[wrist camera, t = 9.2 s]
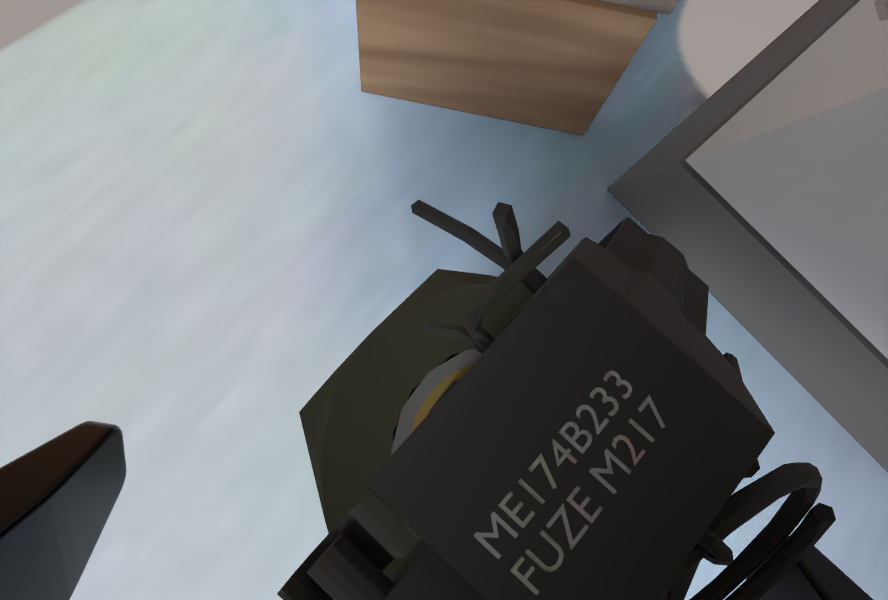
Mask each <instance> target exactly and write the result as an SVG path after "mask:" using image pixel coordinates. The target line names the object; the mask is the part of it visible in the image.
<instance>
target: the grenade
mask: <svg viewBox="0 0 888 600" xmlns="http://www.w3.org/2000/svg"><path fill="white" fill-rule="evenodd" d="M411 207H412V213H414V214H416V215H418V216H419V217H421V218H423V219H425V220H427V221H428V222H430V223H432V224H434V225H436V226H437V227H439V228H441V229H443V230H444V231H446V232H448V233H450V234H452V235H453V236H455V237H457V238H459V239H461V240H462V241H464V242H466V243H467V244H468V245H470V246H471V247H473V248H474V249H476V250H477V251H479V252H480V253H481V254H483V255H484V256H486V257H487V258H489V259H490V260H491V261H493V262H494V263H496V264H497V265H499V266H500V267H502V268H503V269H504V270H505V271H504V272H503V273H502V274H501V275H500V276H499V277H495V276H490V275H483V274H475V273H466V272H458V271H450V270H441V269H437V270H436V271H435V272H434V273H433V274H432V275H431V276H430V277H429V278H428V279H427V280H426V281H425V282H423V283H422V284H421V285H420V286H419V287H418V288H417V289H416V290H415V291H414V292H413V293H412V294H411V295H410V296H409V297H408V298H407V299H406V300H405V301H404V302H403V303H402V304H400V305H399V306H398V307H397V308H396V309H395V310H394V311H393V312H392V313H391V314H390V315H389V316H388V317H387V318H386V319H385V320H384V321H383V322H382V323H381V324H380V325H379V326H378V327H376V328H375V329H374V330H373V331H372V332H371V333H370V334H369V335H368V336H367V338H366V339H365V340H364V341H363V342H362V343H361V344H360V345H359V346H358V347H357V348H356V349H355V350H354V351H353V352H352V354H351V355H350V356H349V357H348V358H347V359H346V360H345V361H344V362H343V363H342V364H341V365H340V366H339V367H338V369H337V370H336V371H335V372H334V373H333V374H332V375H331V376H330V377H329V379H328V380H327V381H326V382H325V383H324V384H323V385H322V387H321V388H320V389H319V390H318V391H317V392H316V393H315V395H314V396H313V397H312V398H311V399H310V400H309V401H308V403H307V404H306V405H305V406H304V407H303V408H302V410H301V411H300V412H299V413H300V417H301V422H302V426H303V430H304V434H305V438H306V443H307V447H308V451H309V455H310V459H311V464H312V468H313V472H314V476H315V480H316V485H317V489H318V493H319V497H320V501H321V506H322V510H323V514H324V518H325V522H326V525H327V529H328V533H329V534H328V535H327V537H326V538H325V539H324V540H323V541H322V542H321V543H320V544H319V545H318V546H317V548H316V549H315V550H314V551H313V552H312V553H311V554H310V555H309V556H308V558H307V559H306V560H305V561H304V562H303V563H302V564H301V566H300V567H299V568H298V569H297V570H296V571H295V573H294V574H293V575H292V576H291V577H290V579H289V580H288V581H287V582H286V583H285V585H284V586H283V587H282V588H281V590H280V591H279V592H278V593H277V594H278V595H279V596H280V597H281V598H282V599H283V600H684V598H685V596H686V594H687V591H688V589H689V586H690V584H691V582H692V579H693V577H694V574H695V572H696V570H697V567H698V565H699V563H700V561H701V560H702V559H703V558H705V559H706V560H708V561H710V562H711V563H713V564H716V565H728V566H727V567H726V568H725V569H724V570H723V571H722V572H721V573H720V574H719V575H718V576H717V577H716V578H715V579H714V580H713V581H711V582H710V583H709V584H708V585H707V586H705V587H704V588H703V589H702V590H701V591H699V592H698V593H697V594H696V595H695V596H693V597H692V598H691V599H690V600H723V599H724V598H725V597H726V596H727V595H728V594H729V593H731V592H732V591H733V590H734V589H735V588H736V587H737V586H738V585H739V584H740V583H741V582H742V581H743V580H745V579H746V578H747V577H748V576H749V575H750V574H751V573H752V572H753V571H754V570H755V569H756V568H757V567H759V566H760V565H761V564H762V563H763V562H764V561H765V560H766V559H767V558H768V557H769V556H770V555H771V554H772V553H773V551H774V550H775V549H776V548H777V547H778V546H779V545H780V544H781V543H782V542H783V541H784V540H785V539H786V538H787V537H788V536H789V535H790V534H791V532H792V531H793V530H794V529H795V527H796V526H797V525H798V523H799V522H800V521H801V520H802V518H803V517H804V516H805V514H806V513H807V512H808V511H809V509H810V508H811V507H812V506H813V504H814V502H815V500H816V499H817V497H818V495H819V493H820V491H821V484H822V477H821V475H820V473H819V470H818V468H817V467H815V466H813V465H812V464H810V463H799V462H796V463H789V464H783V465H782V466H780V467H778V468H776V469H775V470H773V471H771V472H770V473H768V474H766V475H764V476H763V477H761V478H759V479H758V480H756V481H754V482H752V483H751V484H749V485H747V486H746V487H744V488H742V489H740V490H739V491H737V492H735V493H734V494H733V495H732V493H733V492H734V490H735V489H736V488H737V486H738V485H739V483H740V482H741V480H742V479H743V478H748V477H752V476H753V475H754V474H755V473H756V472H757V471H758V470H759V469H760V466H759V462H758V459H757V458H758V456H759V455H760V454H761V452H762V451H763V449H764V448H765V446H766V445H767V444H768V442H769V441H770V439H771V438H772V437H773V435H774V434H775V432H774V431H773V429H772V428H771V426H770V424H769V423H768V421H767V420H766V418H765V416H764V415H763V413H762V412H761V410H760V409H759V407H758V405H757V404H756V402H755V401H754V399H753V397H752V396H751V394H750V393H749V391H748V390H747V388H746V386H745V385H744V383H743V380H742V377H741V373H740V369H739V365H738V361H737V358H736V357H734V356H733V355H732V354H729V353H725V354H724V355H722V353H721V352H720V351H719V350H718V349H717V348H716V347H715V346H714V345H713V343H712V342H711V341H710V340H709V339H708V338H707V336H706V321H707V306H708V291H709V286H708V285H707V284H706V283H704V282H703V281H702V280H701V279H700V278H699V277H697V276H696V275H695V274H694V273H693V272H692V271H690V270H689V268H688V265H687V262H686V260H685V257H684V254H683V253H681V252H680V251H679V250H678V249H677V248H675V247H674V246H673V245H672V244H671V243H669V242H668V241H667V240H666V239H665V238H663V237H661V236H656V235H652V234H648V233H647V232H645V231H644V230H643V229H642V228H641V227H640V226H638V225H637V224H636V223H635V222H634V221H633V220H631V219H630V218H629V217H627V218H625V219H623V220H622V221H621V222H620V223H619V224H618V225H617V226H616V227H615V228H614V229H613V230H612V231H611V232H610V233H609V234H608V235H607V236H606V237H605V238H604V239H603V240H601V241H600V242H599V243H598V244H597V243H595V242H593V241H592V240H590V239H588V238H587V237H586V238H584V239H583V240H581V242H580V243H579V244H578V245H577V246H576V247H575V248H574V249H573V250H572V252H571V253H570V254H569V255H568V256H567V257H566V258H565V259H564V260H563V262H562V263H561V264H560V265H559V266H558V267H557V268H556V269H555V271H554V272H553V273H552V274H551V275H550V276H549V277H548V278H546V277H545V276H544V275H543V274H542V273H541V272H539V271H538V270H537V269H536V267H537V266H538V265H539V264H540V263H541V262H542V261H543V260H544V259H546V258H547V257H548V256H549V255H550V254H551V253H552V252H553V251H554V250H556V249H557V248H558V247H559V246H560V245H561V244H562V243H563V242H564V241H566V240H567V239H568V238H569V237H570V236H571V235H570V232H569V229H568V228H567V227H566V226H565V225H563V224H562V223H561V222H560V221H558V222H557V223H556V224H555V225H553V226H552V227H551V228H550V229H549V230H548V231H547V232H546V233H545V234H544V235H543V236H542V237H541V238H539V239H538V240H537V241H536V242H535V243H534V244H533V245H532V246H531V247H530V248H529V249H528V250H527V251H525V252H524V253H523V251H522V250H521V244H520V237H519V230H518V226H517V223H516V219H515V215H514V212H513V208H512V205H508V204H504V203H500V202H498V204H497V206H496V208H495V209H494V211H493V213H492V215H493V218H494V221H495V224H496V227H497V230H498V234H499V237H500V241H501V245H502V248H501V247H499V246H498V245H496V244H495V243H493V242H492V241H490V240H489V239H488V238H486V237H485V236H483V235H482V234H480V233H479V232H477V231H476V230H474V229H473V228H471V227H469V226H467V225H466V224H464V223H462V222H460V221H458V220H456V219H454V218H452V217H450V216H449V215H447V214H445V213H443V212H441V211H439V210H437V209H435V208H434V207H432V206H430V205H428V204H426V203H424V202H422V201H420V200H418V201H416V202H415V203H414V204H413V205H411ZM791 492H792V493H791ZM789 493H791V494H790V495H789V497H788V498H787V499H786V501H785V502H784V503H783V505H782V506H781V507H780V509H779V510H778V511H777V513H776V514H775V516H774V517H773V518H772V520H771V521H770V522H769V523H768V525H767V526H766V527H765V528H764V529H763V530H762V531H761V532H760V533H759V534H758V535H757V536H756V537H755V538H754V539H753V540H752V542H751V543H750V544H749V545H748V546H747V547H746V548H745V549H744V550H743V551H742V552H741V553H740V554H739V555H738V556H737V557H736V559H735V560H734V561H733V554H732V550H731V549H730V548H729V547H728V546H727V545H726V544H725V543H724V542H723V540H724V539H725V538H726V537H727V536H728V535H729V534H730V533H732V532H733V531H734V530H736V529H737V528H739V527H740V526H741V525H743V524H744V523H746V522H747V521H748V520H750V519H751V518H753V517H754V516H755V515H757V514H758V513H760V512H761V511H762V510H764V509H765V508H766V507H768V506H769V505H771V504H772V503H773V502H775V501H776V500H778V499H779V498H781V497H783V496H785V495H787V494H789ZM835 520H836V518H835V515H834V512H833V509H832V507H830V506H827V505H824V504H821V503H818V504H817V505H816V506H814V507H813V508H812V509H811V510H810V511H809V512H808V514H807V515H806V517H805V518H804V520H803V521H802V523H801V524H800V525H799V527H798V528H797V529H796V530H795V531H794V532H793V533H792V534H791V535H790V537H789V538H788V539H787V540H786V541H785V542H784V543H783V544H782V546H781V547H780V548H779V549H778V550H777V551H776V552H775V553H774V554H773V555H772V556H771V557H770V558H769V559H768V560H767V561H766V562H765V563H764V564H763V565H762V566H761V567H760V568H759V569H758V570H757V571H756V572H755V573H754V574H753V575H752V576H751V577H749V578H748V579H747V580H746V581H745V582H744V583H743V584H742V585H741V586H740V587H738V588H737V589H736V590H735V591H734V592H733V593H732V594H731V595H730V596H729V597H727V598H726V599H725V600H759V599H760V598H761V597H762V596H763V595H764V594H765V593H766V592H767V591H768V590H769V589H770V588H771V587H772V586H773V585H774V584H775V583H776V582H777V581H778V580H780V579H781V578H782V577H783V576H784V575H785V574H786V573H787V572H788V571H789V570H790V569H791V568H792V567H793V566H794V565H795V564H796V563H797V562H798V561H799V560H800V559H801V558H802V557H804V556H805V555H806V554H807V553H808V552H809V551H810V549H811V548H812V547H813V546H814V545H815V544H816V542H817V541H818V540H819V539H820V538H821V537H822V535H823V534H824V533H825V532H826V531H827V530H828V528H829V527H830V526H831V525H832V524H833V523H834V521H835Z"/></svg>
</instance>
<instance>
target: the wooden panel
mask: <svg viewBox="0 0 888 600" xmlns="http://www.w3.org/2000/svg"><path fill="white" fill-rule="evenodd" d="M677 2H678V0H356V11H357V28H358V44H359V60H360V77H361V91H362V92H367V93H372V94H377V95H383V96H388V97H393V98H398V99H403V100H408V101H413V102H418V103H423V104H428V105H433V106H438V107H443V108H448V109H453V110H458V111H463V112H468V113H473V114H478V115H483V116H488V117H494V118H499V119H504V120H509V121H514V122H519V123H524V124H529V125H534V126H539V127H544V128H549V129H554V130H559V131H564V132H569V133H574V134H579V135H584V133H585V132H586V130H587V128H588V127H589V125H590V124H591V122H592V120H593V119H594V117H595V116H596V114H597V113H598V111H599V109H600V108H601V106H602V105H603V103H604V102H605V100H606V98H607V97H608V95H609V94H610V92H611V91H612V89H613V87H614V86H615V84H616V83H617V81H618V80H619V78H620V76H621V75H622V73H623V72H624V70H625V68H626V67H627V65H628V64H629V62H630V61H631V59H632V57H633V56H634V54H635V53H636V51H637V50H638V48H639V46H640V45H641V43H642V42H643V40H644V39H645V37H646V35H647V34H648V32H649V31H650V29H651V28H652V26H653V24H654V23H655V21H656V18H657V12H659V13H663V14H670V13H671V12H672V11H673V9H674V8H675V6H676V4H677Z"/></svg>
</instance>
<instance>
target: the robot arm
mask: <svg viewBox="0 0 888 600" xmlns="http://www.w3.org/2000/svg"><path fill="white" fill-rule="evenodd" d="M125 477H126V462H125V453H124V444H123V435H122V431H121V429H120V428H119V427H118V426H116V425H113V424H107V423H101V422H94V421H87V422H84V423H81V424H79V425H77V426H76V427H74V428H72V429H70V430H68V431H66V432H65V433H63V434H61V435H59V436H57V437H56V438H54V439H52V440H50V441H48V442H46V443H45V444H43V445H41V446H39V447H37V448H36V449H34V450H32V451H30V452H28V453H26V454H25V455H23V456H21V457H19V458H17V459H16V460H14V461H12V462H10V463H8V464H6V465H5V466H3V467H1V468H0V600H69V599H70V598H71V596H72V594H73V592H74V590H75V588H76V586H77V584H78V582H79V579H80V577H81V575H82V573H83V571H84V569H85V567H86V564H87V562H88V560H89V558H90V556H91V554H92V552H93V549H94V547H95V545H96V543H97V541H98V539H99V537H100V534H101V532H102V530H103V528H104V526H105V524H106V521H107V519H108V517H109V515H110V513H111V511H112V509H113V506H114V504H115V502H116V500H117V498H118V496H119V494H120V491H121V489H122V487H123V484H124V481H125ZM789 537H790V536H788V537H787V538H786V539H785V540H784V541H783V542H782V543H781V544H780V545H779V546H778V547H777V548H776V549H775V550H774V551H773V553H772V554H771V555H770V556H769V557H768V558H767V559H766V560H765V561H764V562H763V563H762V564H761V565H760V566H759V567H757V568H756V569H755V570H754V571H753V572H752V573H751V574H750V575H749V576H748V577H747V578H746V580H747V579H748V578H749V577H751V576H752V575H753V574H754V573H755V572H756V571H757V570H758V569H759V568H760V567H761V566H762V565H763V564H764V563H765V562H766V561H767V560H768V559H769V558H770V557H771V556H772V555H773V554H774V553H775V552H776V551H777V550H778V549H779V548H780V547H781V546H782V544H783V543H784V542H785V541H786V540H787V539H788V538H789ZM759 600H873V599H872V598H871V597H870V596H869V595H868V594H866V593H865V592H864V591H863V590H862V589H861V588H860V587H859V586H858V585H857V584H855V583H854V582H853V581H852V580H851V579H850V578H849V577H848V576H847V575H845V574H844V573H843V572H842V571H841V570H840V569H839V568H838V567H837V566H835V565H834V564H833V563H832V562H831V561H830V560H829V559H828V558H827V557H826V556H824V555H823V554H822V553H821V552H820V551H819V550H818V549H817V548H816V547H814V546H813V547H812V548H811V549H810V551H809V552H808V553H807V554H806V555H805V556H804V557H802V558H801V559H800V560H799V561H798V562H797V563H796V564H795V565H794V566H793V567H792V568H791V569H790V570H789V571H788V572H787V573H786V574H785V575H784V576H783V577H782V578H781V579H780V580H778V581H777V582H776V583H775V584H774V585H773V586H772V587H771V588H770V589H769V590H768V591H767V592H766V593H765V594H764V595H763V596H762V597H761V598H760V599H759Z"/></svg>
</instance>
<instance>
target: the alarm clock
mask: <svg viewBox="0 0 888 600" xmlns="http://www.w3.org/2000/svg"><path fill="white" fill-rule="evenodd" d="M608 190H609V191H610V192H611V193H612V194H613V195H614V196H615V197H616V198H617V199H618V200H619V201H620V202H621V203H622V204H623V205H624V206H625V207H626V208H627V209H628V210H629V211H630V212H631V214H632V215H633V216H634V217H635V218H636V219H637V220H638V221H639V222H640V223H641V224H642V225H643V226H644V227H645V228H646V229H647V230H648V231H649V232H650V233H651V234H652V235H656V236H661V237H663V238H665V239H666V240H667V241H668V242H669V243H671V244H672V245H673V246H674V247H675V248H677V249H678V250H679V251H680V252H681V253H683V254H684V257H685V260H686V262H687V265H688V268H689V270H690V271H692V272H693V273H694V274H695V275H696V276H697V277H699V278H700V279H701V280H702V281H703V282H704V283H706V284H707V285H708V286H709V292H710V293H711V294H712V295H713V296H714V297H715V298H716V299H717V300H718V301H719V302H720V303H721V304H722V305H723V306H724V307H725V308H726V309H727V310H728V311H729V312H730V313H731V314H732V315H733V316H734V318H735V319H736V320H737V321H738V322H739V323H740V324H741V325H742V326H743V327H744V328H745V329H746V330H747V331H748V332H749V333H750V334H751V335H752V336H753V337H754V338H755V339H756V340H757V341H758V342H759V343H760V344H761V345H762V346H763V347H764V348H765V349H766V350H767V351H768V352H769V353H770V354H771V355H772V356H773V357H774V358H775V359H776V360H777V361H778V362H779V363H780V364H781V365H782V366H783V367H784V368H785V369H786V370H787V371H788V372H789V373H790V374H791V375H792V376H793V377H794V378H795V379H796V380H797V381H798V382H799V383H800V384H801V385H802V386H803V387H804V388H805V389H806V390H807V391H808V392H809V393H810V394H811V395H812V396H813V397H814V398H815V399H816V400H817V401H818V402H819V403H820V404H821V405H822V406H823V407H824V408H825V409H826V410H827V411H828V412H829V413H830V414H831V415H832V416H833V417H834V418H835V419H836V420H837V422H838V423H839V424H840V425H841V426H842V427H843V428H844V429H845V430H846V431H847V432H848V433H849V434H850V435H851V436H852V437H853V438H854V439H855V440H856V441H857V442H858V443H859V444H860V445H861V446H862V447H863V448H864V449H865V450H866V451H867V452H868V453H869V454H870V455H871V456H872V457H873V458H874V459H875V460H876V461H877V462H878V463H879V464H880V465H881V466H882V467H883V468H884V469H885V470H886V471H887V472H888V0H819V1H818V2H817V3H815V4H814V5H813V6H812V7H811V8H810V9H809V10H808V11H806V12H805V13H804V14H803V15H802V16H801V17H800V18H799V19H797V20H796V21H795V22H794V23H793V24H792V25H791V26H790V27H788V29H786V30H785V31H784V32H783V33H782V34H781V35H780V36H778V37H777V38H776V39H775V40H774V41H773V42H771V43H770V44H769V45H768V46H767V47H766V48H765V49H764V50H763V51H762V52H760V53H759V54H758V55H757V56H756V57H755V58H754V59H753V60H751V61H750V62H749V63H748V64H747V65H746V66H744V67H743V68H742V69H741V70H740V71H739V72H738V73H737V74H735V75H734V76H733V77H732V78H731V79H730V80H729V81H728V82H727V83H725V84H724V85H723V86H722V87H721V88H720V89H719V90H717V91H716V92H715V93H714V94H713V95H712V96H711V97H710V98H709V99H708V100H707V101H706V102H705V103H703V104H702V105H701V106H700V107H699V108H698V109H697V110H696V111H694V112H693V113H692V114H691V115H690V116H689V117H688V118H687V119H685V120H684V121H683V122H682V123H681V124H680V125H679V126H678V127H676V128H675V129H674V130H673V131H672V132H671V133H670V134H669V135H667V136H666V137H665V138H664V139H663V140H662V141H661V142H660V143H658V144H657V145H656V146H655V147H654V148H653V149H652V150H651V151H649V152H648V153H647V154H646V155H645V156H644V157H643V158H642V159H640V160H639V161H638V162H637V163H636V164H635V165H634V166H633V167H631V168H630V169H629V170H628V171H627V172H626V173H625V174H624V175H622V176H621V177H620V178H619V179H618V180H617V181H616V182H615V183H613V184H612V185H611V186H610V187H609V188H608Z"/></svg>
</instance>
